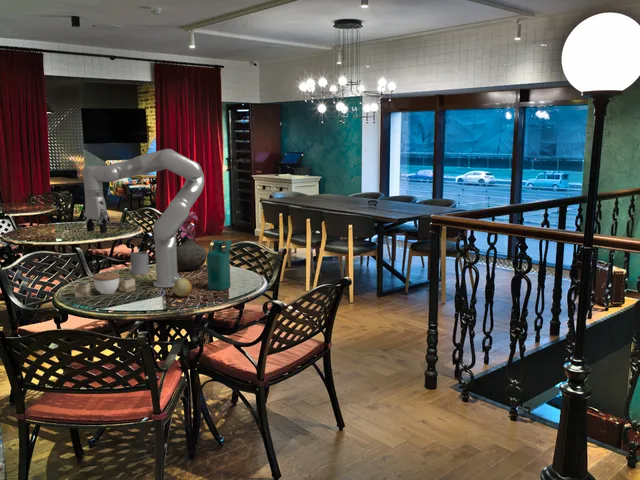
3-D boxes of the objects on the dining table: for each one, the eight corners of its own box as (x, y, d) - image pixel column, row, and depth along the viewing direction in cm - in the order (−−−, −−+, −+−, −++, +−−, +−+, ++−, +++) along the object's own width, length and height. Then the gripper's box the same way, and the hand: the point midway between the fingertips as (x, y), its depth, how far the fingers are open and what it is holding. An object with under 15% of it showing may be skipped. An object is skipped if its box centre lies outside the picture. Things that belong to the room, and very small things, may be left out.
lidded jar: (96, 296, 250) (94, 275, 249) (93, 291, 259) (91, 270, 258) (122, 293, 255) (120, 272, 253) (118, 288, 264) (117, 268, 263)
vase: (175, 274, 293) (173, 215, 288) (171, 267, 309) (169, 211, 305) (209, 271, 299) (207, 213, 294) (203, 265, 315) (201, 210, 310)
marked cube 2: (135, 290, 262) (134, 278, 261) (126, 292, 258) (125, 280, 257) (128, 288, 265) (128, 277, 264) (119, 290, 261) (118, 279, 260)
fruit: (175, 294, 253) (175, 276, 252) (194, 294, 253) (194, 276, 252) (171, 299, 246) (170, 280, 244) (190, 299, 246) (189, 280, 244)
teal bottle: (206, 289, 262) (204, 241, 258) (215, 285, 270) (214, 238, 266) (225, 291, 258) (224, 242, 255) (234, 287, 266) (233, 239, 263)
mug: (146, 274, 294) (145, 254, 292) (129, 274, 294) (128, 254, 292) (152, 269, 306) (151, 250, 304) (136, 269, 306) (135, 250, 304)
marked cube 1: (91, 294, 255) (90, 282, 254) (86, 297, 250) (86, 285, 249) (80, 294, 255) (79, 282, 254) (75, 297, 250) (74, 285, 249)
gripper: (113, 193, 256) (116, 232, 258) (90, 192, 266) (93, 229, 269) (97, 195, 250) (101, 234, 252) (75, 193, 260) (78, 231, 263)
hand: (97, 232), depth 261 cm, fingers open, 9 cm apart
